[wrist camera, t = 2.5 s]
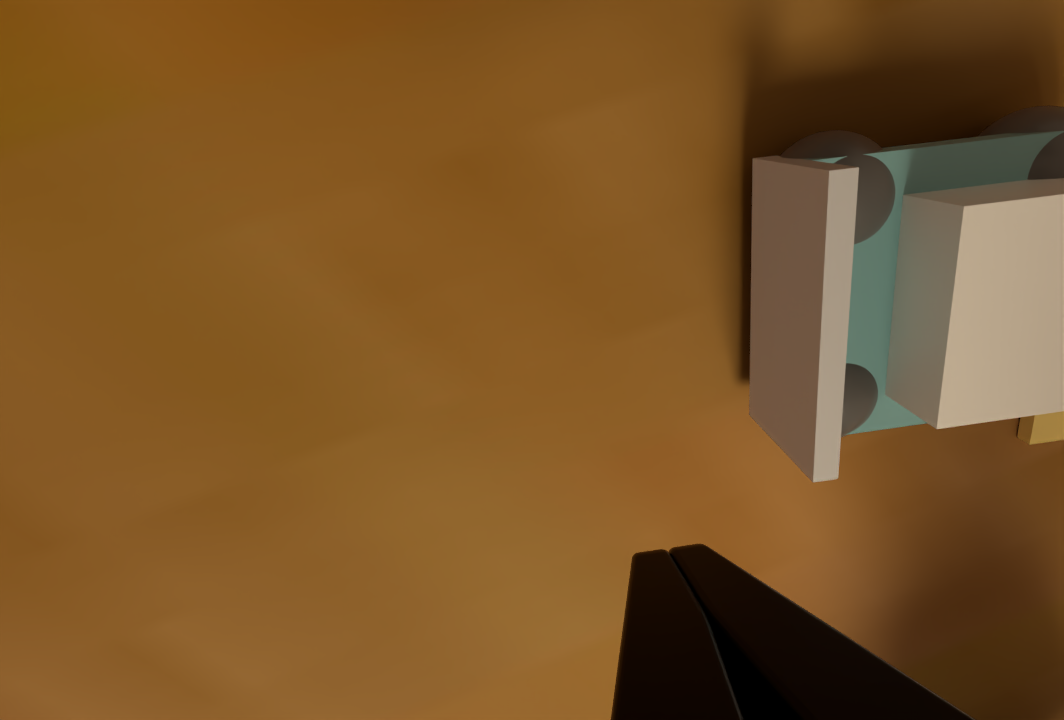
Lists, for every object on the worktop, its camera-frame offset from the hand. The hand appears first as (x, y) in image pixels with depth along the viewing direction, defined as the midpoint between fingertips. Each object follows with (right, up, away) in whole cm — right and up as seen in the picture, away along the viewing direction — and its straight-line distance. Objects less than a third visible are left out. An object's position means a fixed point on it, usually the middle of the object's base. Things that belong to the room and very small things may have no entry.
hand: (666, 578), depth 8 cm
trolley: (+8, +5, +11) cm, 15 cm away
